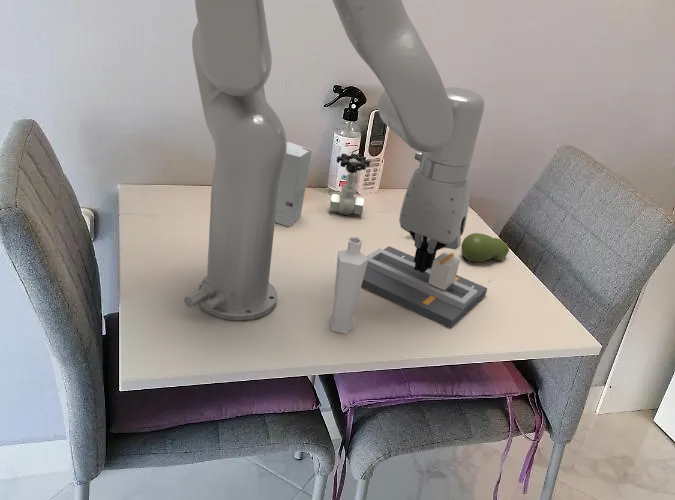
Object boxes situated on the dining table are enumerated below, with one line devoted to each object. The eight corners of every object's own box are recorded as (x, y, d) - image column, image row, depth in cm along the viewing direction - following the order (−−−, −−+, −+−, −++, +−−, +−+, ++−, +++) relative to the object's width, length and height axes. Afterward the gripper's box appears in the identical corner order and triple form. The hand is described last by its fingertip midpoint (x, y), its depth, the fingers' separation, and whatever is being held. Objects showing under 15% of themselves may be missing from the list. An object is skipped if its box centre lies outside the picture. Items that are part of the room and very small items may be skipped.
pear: (461, 227, 130) (501, 231, 135) (452, 252, 132) (491, 255, 137) (478, 241, 125) (519, 244, 130) (468, 266, 127) (508, 268, 132)
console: (450, 328, 109) (454, 314, 107) (346, 279, 118) (348, 266, 116) (485, 295, 119) (489, 282, 118) (387, 253, 128) (390, 240, 127)
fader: (442, 296, 114) (450, 264, 111) (426, 289, 115) (433, 258, 112) (453, 287, 117) (461, 256, 114) (437, 280, 118) (445, 249, 115)
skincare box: (252, 216, 134) (258, 144, 127) (265, 206, 139) (272, 136, 132) (291, 228, 132) (300, 156, 125) (303, 217, 137) (312, 146, 130)
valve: (361, 222, 138) (370, 167, 133) (328, 218, 138) (336, 162, 132) (361, 209, 144) (370, 155, 138) (329, 204, 144) (337, 151, 138)
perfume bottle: (358, 321, 107) (373, 236, 100) (352, 336, 103) (368, 249, 96) (329, 314, 108) (343, 229, 101) (323, 329, 104) (336, 242, 97)
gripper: (392, 159, 108) (373, 259, 117) (478, 190, 102) (452, 294, 110) (414, 149, 114) (395, 245, 123) (497, 177, 108) (471, 277, 116)
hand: (422, 268), depth 117 cm, fingers closed
